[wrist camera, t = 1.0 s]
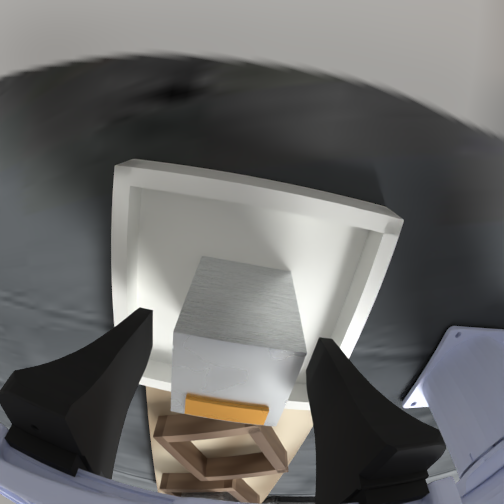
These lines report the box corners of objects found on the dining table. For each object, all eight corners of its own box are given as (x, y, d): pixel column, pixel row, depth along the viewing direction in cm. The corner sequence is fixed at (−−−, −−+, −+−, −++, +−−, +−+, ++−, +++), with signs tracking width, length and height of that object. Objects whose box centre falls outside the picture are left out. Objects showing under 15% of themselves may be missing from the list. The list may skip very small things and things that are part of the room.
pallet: (323, 393, 20) (329, 427, 17) (259, 499, 28) (259, 519, 26) (149, 367, 19) (137, 400, 16) (159, 485, 28) (155, 505, 25)
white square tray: (386, 206, 15) (404, 220, 13) (316, 386, 19) (321, 411, 17) (133, 158, 14) (114, 165, 12) (130, 356, 19) (120, 379, 17)
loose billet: (290, 271, 15) (307, 356, 10) (271, 340, 17) (276, 430, 11) (201, 255, 15) (171, 335, 9) (193, 327, 17) (169, 414, 11)
